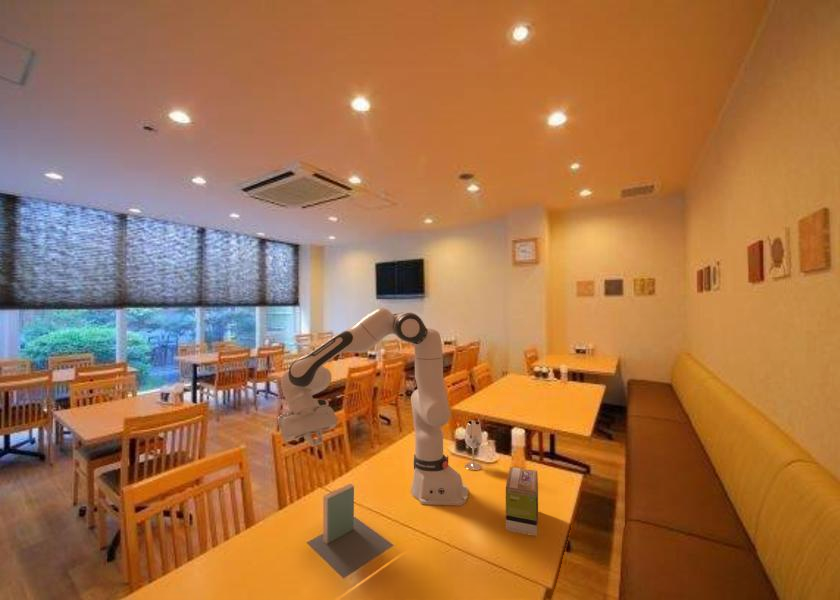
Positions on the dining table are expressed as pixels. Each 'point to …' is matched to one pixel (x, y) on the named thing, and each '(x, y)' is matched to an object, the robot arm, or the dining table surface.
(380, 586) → the dining table surface
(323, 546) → the slate mat
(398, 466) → the dining table surface
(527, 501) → the tea box
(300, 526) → the dining table surface
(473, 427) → the wineglass
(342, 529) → the glazed tile
